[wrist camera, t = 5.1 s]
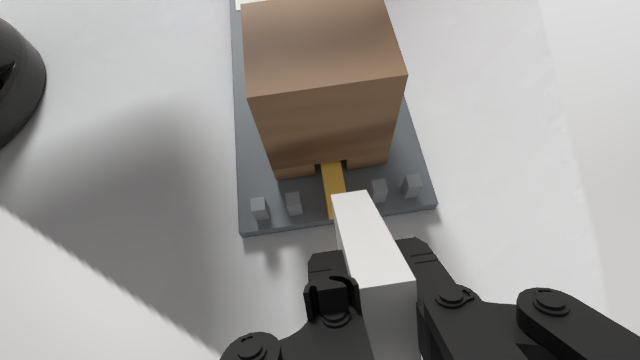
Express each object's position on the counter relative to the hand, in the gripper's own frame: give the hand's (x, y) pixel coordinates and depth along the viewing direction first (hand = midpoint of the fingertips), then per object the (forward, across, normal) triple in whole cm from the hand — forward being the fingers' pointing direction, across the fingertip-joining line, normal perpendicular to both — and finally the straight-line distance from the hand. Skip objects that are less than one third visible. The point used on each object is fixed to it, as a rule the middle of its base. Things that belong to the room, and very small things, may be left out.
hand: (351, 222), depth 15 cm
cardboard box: (+10, 0, +2) cm, 10 cm away
